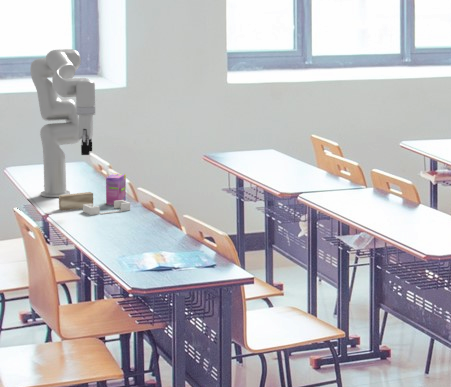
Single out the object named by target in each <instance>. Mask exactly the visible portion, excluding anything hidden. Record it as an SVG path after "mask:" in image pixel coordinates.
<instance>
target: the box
mask: <svg viewBox="0 0 451 387" xmlns="http://www.w3.org/2000/svg"><path fill="white" fill-rule="evenodd" d="M126 176H127V174H126V173H118V172H113V173H112V174H109V175H107V176H106V178H105V195H106V196H105V200H106V201H105V204H106V205H107V206H114V201H118V200H124V201H127V200H126V198H127V197H126V193H127V191H126V185H127V184H126V178H127V177H126Z"/></svg>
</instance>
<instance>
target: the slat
mask: <svg viewBox="0 0 451 387" xmlns="http://www.w3.org/2000/svg"><path fill="white" fill-rule="evenodd" d="M84 204H93V205H94V193H93V192H91V191H88V192H78V193H70V194H67V195H59V197H58V208H59V210H60V211H68V210H69V211H70V209H72V210H78V209H79V208H80V209H83V205H84Z"/></svg>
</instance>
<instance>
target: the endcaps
mask: <svg viewBox="0 0 451 387" xmlns="http://www.w3.org/2000/svg"><path fill="white" fill-rule="evenodd" d="M113 208H114V209H120V210H114V211H113V210H112V211H105V212H100V210H101V208H100V206H98V205H96V206H94V203H93V204H84V205H83V208H82V212H83V213H85V214H87V215H90V216H93V215H106V214H113V213H124V212H125V211H131V202H129V201H127V200H125V201H124V200H118V201H114V205H113Z"/></svg>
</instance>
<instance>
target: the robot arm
mask: <svg viewBox="0 0 451 387" xmlns="http://www.w3.org/2000/svg"><path fill="white" fill-rule="evenodd" d="M81 63H82V59H81V55H80V53H79V52H78V50H76V49H53V50H50V51H48V53H47V54H46V56H45V57H41V58H36V59H34V60H32V62H31V64H30V77H31V80H32V82H33V84H34V87H35V90H36V93H37V99H38V105H39V112H40V116H41V119H42V120H44V121H47V122H53V123H46V124H45V125H43V126H41V129H40V131H39V132H40V133H39V136H40V139H41V140H40V141H41V146H42V153H43V154H42V155H43V156H42V159H43V184H44V185H43V189H44V190H43V191H42V192H40V196H41V197H44V198H59V195H67V194H71V192H70V191H69V190H67V169H66V165H67V164H66V154H65V151H64V150H63V149H62V148H61V147H60V146H64V145H65V146H66V145H74V144H75V145H76V144H78V143H79V142H80V141H81V143H80V144H81V145H80V150H81V151H80V153H81V154H80V155H81V156H89V155H90V152H93V139H92V138H93V136H94V120H93V119H94V117H93V116H95V115H96V85H95V84H96V83H95V81H94V80H92V79H90V78H85V77H80V78H79V77H75V75H76V71H77V70H78V69H79V68H80V66H81ZM49 78H52V80H50V79H49ZM58 95H59V96H60V97H61V98H60V97H59V96H58ZM72 98H75V101H76V102H75V101H74V100H73V99H72ZM54 121H56V122H54ZM58 121H65V122H58Z"/></svg>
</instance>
